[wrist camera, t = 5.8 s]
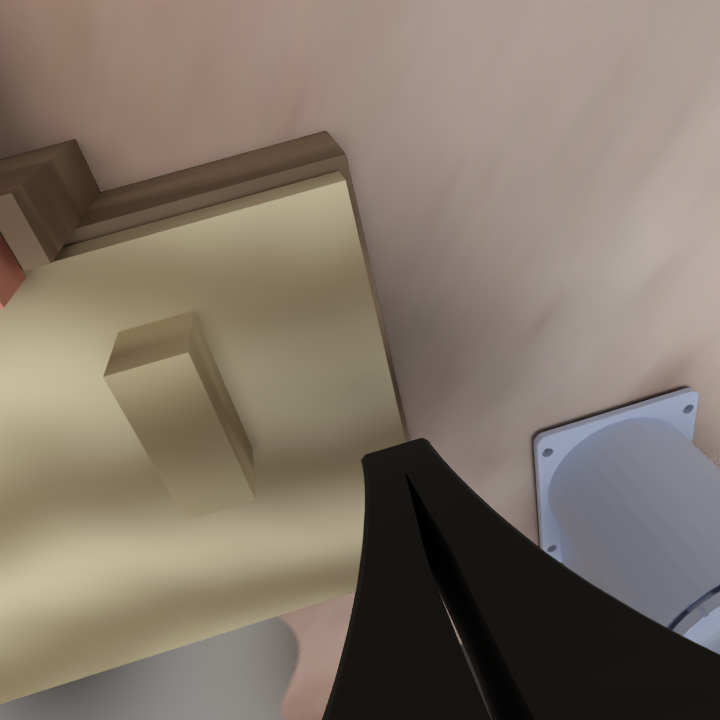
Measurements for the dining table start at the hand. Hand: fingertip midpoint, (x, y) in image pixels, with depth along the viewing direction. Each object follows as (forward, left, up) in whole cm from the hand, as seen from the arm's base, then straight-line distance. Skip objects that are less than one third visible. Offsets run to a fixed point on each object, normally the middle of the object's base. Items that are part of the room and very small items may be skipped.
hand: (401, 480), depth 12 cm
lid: (-3, +8, -7) cm, 11 cm away
